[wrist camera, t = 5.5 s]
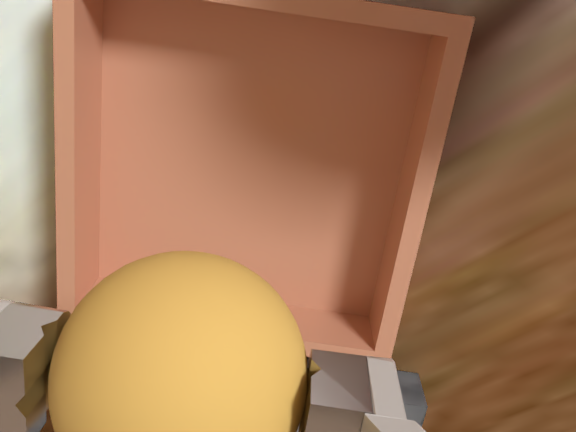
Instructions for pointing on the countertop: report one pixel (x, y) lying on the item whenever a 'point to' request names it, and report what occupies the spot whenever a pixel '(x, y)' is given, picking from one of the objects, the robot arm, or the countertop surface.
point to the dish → (255, 146)
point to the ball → (179, 352)
